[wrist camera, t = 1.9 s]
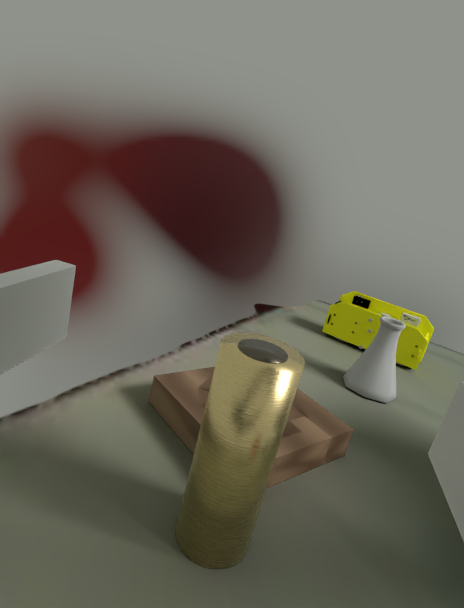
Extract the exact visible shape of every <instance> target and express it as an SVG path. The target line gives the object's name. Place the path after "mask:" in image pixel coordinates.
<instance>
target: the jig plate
mask: <svg viewBox="0 0 464 608" xmlns="http://www.w3.org/2000/svg"><path fill="white" fill-rule="evenodd" d="M214 368H215V367H211V368H204V369H197V370H190V371H183V372H177V373H170V374H163V375H156V376H154V379H153V384H152V390H151V395H150V400H149V403H150V404H151V405H152V406H153V407H154V409H155V410H156V411H157V412H158V413H159V414H160V416H161V417H162V418H163V419H164V420H165V422H166V423H167V424H168V425H169V426H170V427H171V429H172V430H173V431H174V432H175V433H176V434H177V436H178V437H179V438H180V439H181V440H182V441H183V443H184V444H185V445H186V446H187V447H188V448H189V450H190V451H191V452H192V453H193V454H194V451H195V447H196V443H197V439H198V435H199V430H200V426H201V422H202V418H203V414H204V410H205V406H206V401H207V397H208V393H209V389H210V385H211V381H212V377H213V372H214ZM353 431H354V429H352V428H351V427H350V426H348V425H347V424H346V423H344V422H343V421H341V420H340V419H339V418H337V417H336V416H335V415H333V414H332V413H330V412H329V411H328V410H326V409H325V408H324V407H322V406H321V405H319V404H318V403H317V402H315V401H314V400H313V399H311V398H310V397H308V396H307V395H306V394H304V393H303V392H302V391H300V390H299V389H297V391H296V394H295V397H294V400H293V404H292V407H291V410H290V413H289V416H288V420H287V423H286V426H285V429H284V432H283V436H282V439H281V442H280V445H279V448H278V451H277V455H276V458H275V461H274V464H273V467H272V471H271V474H270V477H269V480H268V483H267V487H266V488H268V487H270V486H273V485H275V484H278V483H280V482H282V481H285V480H287V479H289V478H292V477H294V476H297V475H299V474H301V473H304V472H306V471H309V470H311V469H313V468H316V467H318V466H320V465H323V464H325V463H328V462H330V461H332V460H335V459H337V458H340V457H342V456H344V455H345V452H346V450H347V447H348V444H349V442H350V439H351V436H352V434H353Z"/></svg>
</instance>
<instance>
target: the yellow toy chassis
mask: <svg viewBox="0 0 464 608" xmlns="http://www.w3.org/2000/svg"><path fill="white" fill-rule="evenodd" d="M357 295H359V296H361V297H362V298H361V297H358V296H357ZM356 301H357V302H356ZM361 302H362V303H361ZM414 315H416V316H418V317H419V318H418V317H415V316H414ZM383 316H386V317H390V318H394V319H397V320H399V321H401V322H404V324H405V325H406V327H405V329H403V330H402V331H401V333H400V336H399V339H398V344H397V350H396V364H399V365H403V366H407V367H410V368H412V369H415V370H416V369H417V367H418V365H419V362H421V360H422V358H423V356H424V353H425V351H426V348H427V346H428V343H429V341H430V338H431V336H432V333H433V331H434V328H433V326H432V325H431V323H430V322H429V320H428V319H427V317H426V316H424V315H421V314H418V313H415V312H412V311H409V310H407V309H403V308H400V307H398V306H395V305H392V304H389V303H386V302H384V301H381V300H378V299H375V298H372V297H369V296H366V295H364V294H361V293H358V292H355V291H353V292H350V293H347V294H344V295H342V296H341V298H340V300H339V302H336V303H335V304H333V305H330V308H329V312H328V315H327V318H326V321H325V324H324V327H323V330H322V332H324V333H327V334H329V335H332V336H334V337H335V338H336V339H338V340H340V341H343V342H349V343H351V344H354V345H356V346H359V348H360V349H362V348H363V349H367V348H368V347H369V345H370V344H371V343H372V341H373V339H374V337H375V336H376V334H377V332H378V330H379V327H380V324H381V322H380V317H383ZM410 319H411V321H410ZM420 320H421V323H420V325H419V322H420ZM414 322H415V323H414Z"/></svg>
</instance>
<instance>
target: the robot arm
mask: <svg viewBox="0 0 464 608" xmlns="http://www.w3.org/2000/svg"><path fill="white" fill-rule="evenodd" d="M75 267H76V266H75V265H71V264H68V263H65V262H61V261H58V260H54V261H50V262H46V263H42V264H38V265H34V266H30V267H26V268H22V269H18V270H14V271H10V272H6V273H3V274H0V375H1V374H3V373H4V372H6V371H8V370H10V369H11V368H13V367H15V366H17V365H19V364H20V363H22V362H24V361H26V360H27V359H29V358H31V357H33V356H34V355H36V354H38V353H40V352H41V351H43V350H45V349H47V348H48V347H50V346H52V345H54V344H55V343H57V342H59V341H61V340H63V339H64V338H66V337H67V329H68V321H69V314H70V306H71V297H72V291H73V283H74V276H75ZM428 456H429V458H430V460H431V463H432V465H433V468H434V470H435V473H436V475H437V478H438V480H439V483H440V485H441V487H442V490H443V492H444V495H445V497H446V500H447V502H448V505H449V507H450V510H451V512H452V515H453V517H454V519H455V522H456V524H457V527H458V529H459V532H460V534H461V537H462V539H463V542H464V381H462V380H461V381H460V383H459V385H458V388H457V390H456V392H455V394H454V397H453V399H452V401H451V403H450V405H449V408H448V410H447V412H446V414H445V417H444V419H443V421H442V423H441V425H440V428H439V430H438V432H437V434H436V437H435V439H434V441H433V443H432V445H431V448H430V450H429V452H428Z"/></svg>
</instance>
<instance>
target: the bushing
mask: <svg viewBox="0 0 464 608" xmlns="http://www.w3.org/2000/svg"><path fill="white" fill-rule="evenodd" d="M304 365H305V361H304V358H303V357H302V356H301V354H300V353H299V352H297V351H296V350H295V349H293V348H292V347H290V346H289V345H287V344H285V343H283V342H281V341H278V340H276V339H273V338H270V337H266V336H262V335H258V334H252V333H233V334H229V335H226V336H225V337H223V338H222V340H221V343H220V348H219V352H218V356H217V360H216V364H215V368H214V372H213V377H212V381H211V385H210V389H209V393H208V397H207V401H206V406H205V410H204V414H203V418H202V422H201V426H200V430H199V435H198V439H197V443H196V447H195V451H194V455H193V459H192V464H191V468H190V472H189V476H188V480H187V484H186V488H185V493H184V497H183V501H182V505H181V509H180V513H179V517H178V522H177V526H176V540H177V543H178V545H179V547H180V549H181V550H182V552H183V553H184V554H185V555H186V556H187V557H188V558H189V559H190V560H191V561H193V562H195V563H196V564H198V565H200V566H203V567H206V568H211V569H224V568H228V567H231V566H233V565H235V564H237V563H238V562H239V561H240V560H241V559H242V558H243V557H244V555H245V553H246V550H247V547H248V544H249V541H250V538H251V535H252V531H253V528H254V525H255V522H256V519H257V515H258V512H259V509H260V506H261V503H262V499H263V496H264V493H265V490H266V487H267V483H268V480H269V477H270V474H271V471H272V467H273V464H274V461H275V458H276V455H277V451H278V448H279V445H280V442H281V439H282V436H283V432H284V429H285V426H286V423H287V420H288V416H289V413H290V410H291V407H292V404H293V400H294V397H295V394H296V391H297V388H298V384H299V381H300V378H301V375H302V372H303V368H304Z"/></svg>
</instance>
